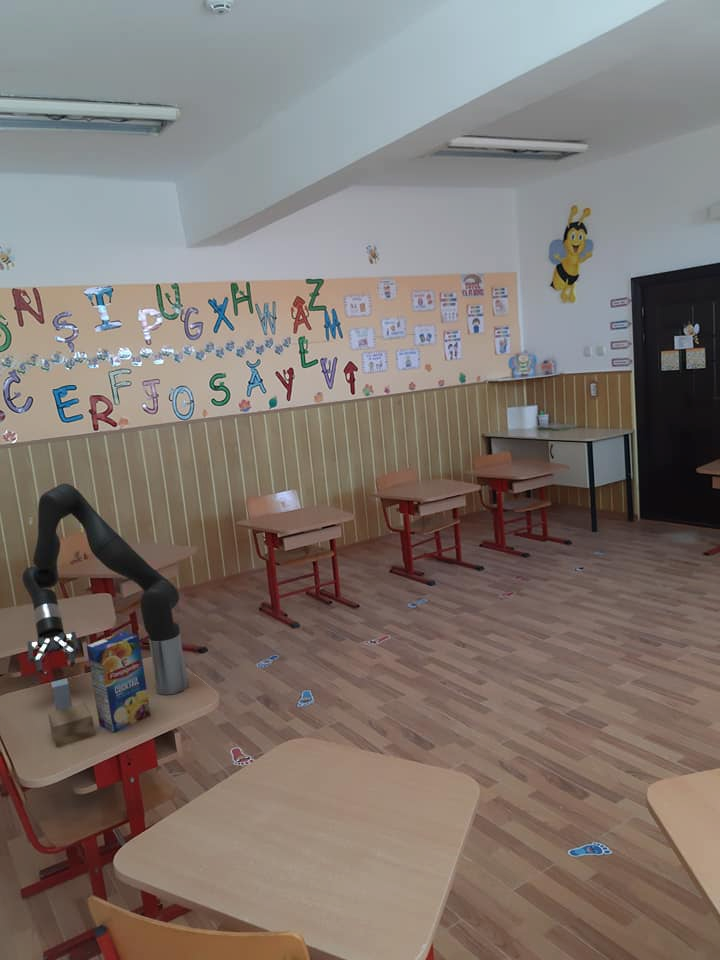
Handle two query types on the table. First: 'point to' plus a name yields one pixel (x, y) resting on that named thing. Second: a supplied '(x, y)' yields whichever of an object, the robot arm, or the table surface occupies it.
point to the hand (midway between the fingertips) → (57, 668)
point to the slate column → (61, 694)
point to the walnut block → (71, 724)
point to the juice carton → (118, 681)
